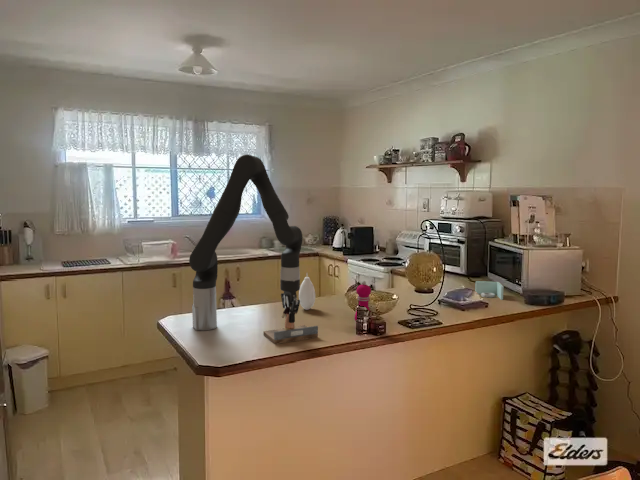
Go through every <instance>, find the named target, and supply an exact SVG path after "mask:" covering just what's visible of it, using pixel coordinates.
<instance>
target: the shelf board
mask: <svg viewBox="0 0 640 480" xmlns="http://www.w3.org/2000/svg"><path fill="white" fill-rule="evenodd" d="M305 327H308V326H306V325H305V324H304V325H299V326H295V327H294V328H295V329H298V328H305ZM284 328H285V327H284ZM284 328H277V329H276V328H275V329H271V330H270V329H268V330H263V333H262V334H263V336H264V337H265V338H266V339H268V340H269V341H271V343H272V344H273V345H279V344H283V343H290V342H297V341H303V340H309V339H315V338H318V337H319V333H318V334H312V335H305V336H299V337H292V338H286V339H279V340H274V332H277V331H284ZM290 330H291V329H290Z"/></svg>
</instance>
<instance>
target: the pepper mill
mask: <svg viewBox="0 0 640 480" xmlns="http://www.w3.org/2000/svg"><path fill="white" fill-rule="evenodd" d="M355 292H356V294H357V300H358V306H359V305H360V306H364V307H366V308H367V309H368V310H369V311H370V307H369V301H370V299H371V298H370V295H371V293H372V289H371V286H369V284H367V281H365V280H362V281H361V284H359V285H358V286H357V287H356V291H355ZM370 312H371V311H370ZM356 320H357V310H356V311H355V314H354V321H355V322H356Z"/></svg>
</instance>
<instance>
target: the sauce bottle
mask: <svg viewBox="0 0 640 480" xmlns="http://www.w3.org/2000/svg"><path fill="white" fill-rule="evenodd" d="M308 274H309V273H306V276H305V277H304V279H303V281H302V282H301V283H300V289H299V290H298V300H300V304H299V306H300V307H302V308H303V309H304V310H305V311H308V310H310V309H311V308H312V307H313V306H314V305H315V302H316V291H315V286H314V284H313V282H312V280H311V277H309V275H308Z"/></svg>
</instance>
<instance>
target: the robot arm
mask: <svg viewBox="0 0 640 480" xmlns="http://www.w3.org/2000/svg"><path fill="white" fill-rule="evenodd" d="M227 181H228V182H227V184H226V186H225V188H224V190H223V192H222V194H221V196H220V198H219V201H218V202H217V204H216V206H215V208H214V210H213V212H212V214H211V216H210V218H209V221H208V223H207V224H206V227H205V229H204V232H203V234H202V236H201V238H200V239H199V241H198V242H197V243H196V246H195V247H194V249H192V252H191V254H190V255H189V258H188V263H189V266H190V268H191V269H192V270H193V271H195V276H194V278H193V279H192V296H193V298H192V300H193V304H191V311H192V313H191V314H192V316H191V317H192V328H193V329H194V330H195V331H211V330H215V329H216V328H217V326H218V322H217V321H218V320H217V319H218V316H217V315H218V314H217V280H218V263H219V262H218V255H217V252H216V250H217V248H218V246H219V244H220V243H221V241H222V240H223V239H224V238H225V236H227V234H228V233H229V232H230V230H231V229H232V227H233V226H234V224H235V222H236V220H237V218H238V216H239V214H240V211H241V208H242V207H241V206H242V197H243V193H244V190H245V189H246V187H247V184H248V183H249V181H251V183H253V185H254V187H256V189H257V191H258V193H259V196H260V200H261V203H262V204H261V205H262V207H263V209H264V211H265V213H266V214H267V217H268V218H269V220H270V222H271V223H272V226H273V230H274V234H275V236H276V237H275V238H276V239H277V240H278V242H279V243H280V244H282V246H285V249H284V250H283V252H281V255H280V278H279V279H280V291H282V292H283V293H281V294H280V299H281V302H282V303H281V304H282V309H285V308H286V307H288V308H289V322H290V323H294V324H295V322H296V317H295V316H296V314H295V313H297V314H298V312H299V309H300V308H299V307H300V300H299V299H298V297H297V296H298V295H297V291H298V292H299V290H300V286H301V270H300V254H301V249H302V244H303V232H302V230H301V228H300V227H299V226H296V225H289V223H288V220H289V213H288V211H287V209H286V208H285V206H284V205H283V203H282V201H281V200H280V198H279V196H278V195H277V193H276V190H275V189H274V187H273V184H272V182H271V180H270V177H269V175H268V172H267V168H266V166H265V165H264V162H263V161H262V159H261V158H259V157H257V156H255V155H252V154H249V153H248V154H247V153H245V154H242V155H240V156H239V157H238V158H237V159H236V161H235V163H234V166H233V169H232V170H231V174H230V177H229V179H228V180H227ZM286 300H287V303H286ZM291 304H292V305H291ZM291 307H292V308H291Z"/></svg>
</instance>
